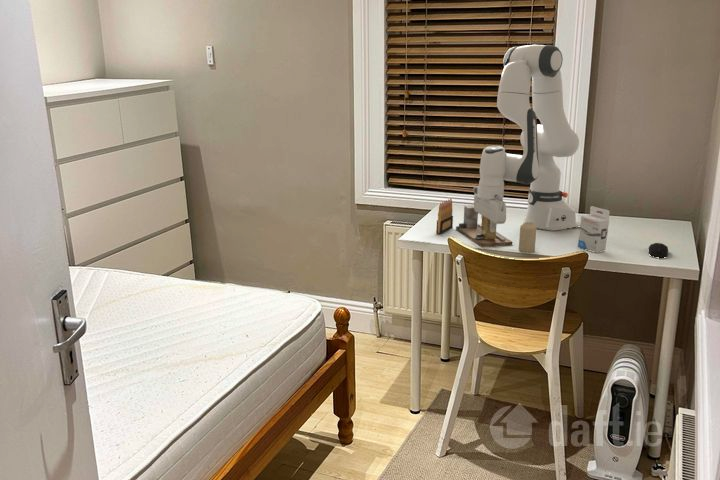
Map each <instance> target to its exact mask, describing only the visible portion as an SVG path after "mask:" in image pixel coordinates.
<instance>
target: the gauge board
mask: <svg viewBox="0 0 720 480" xmlns="http://www.w3.org/2000/svg"><path fill="white" fill-rule="evenodd" d="M463 209H464V210H463V223H461V222H459V223H458V225H455V230H456V231H458V232H459V233H460V234H462V235H463V236H465V237H466V238H467V239H469V240H471V241H472V242H473V243H474V244H476V245H478V246H479V247H480V248H486V247H489V248H490V247H500V246H501V247H502V246H503V247H504V246H512V245H513V241H512V240H510V239H509V238H507V237H506V236H504V235H502V234H501V233H499V232H498V231H496V239H490V240H485V239H483V238H482V237H481V238H477V237H476V234H481V225H482V223H478V222H479V221H478V219H479V218H478V216H479V213H477V212H476V211H475V210H474V204H473V205H464V207H463Z"/></svg>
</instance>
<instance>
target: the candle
mask: <svg viewBox="0 0 720 480" xmlns="http://www.w3.org/2000/svg"><path fill="white" fill-rule="evenodd" d="M537 230H538V228H537V227H536V226H535V225H534V223H531V222H529V223H528V222H525V223H524V224H523V223H522V224H521V225H520V227H519V239H518V251H519V252H521V253H527V252H528V253H534V252H535V251H536V250H535V249H536V239H537V238H536V237H537Z"/></svg>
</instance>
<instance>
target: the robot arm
mask: <svg viewBox="0 0 720 480" xmlns="http://www.w3.org/2000/svg"><path fill="white" fill-rule="evenodd" d="M563 59H564V58H563V53H562V52H561V50H560V49H559V47H558V46H556V45H552V44H546V45H544V44H531V45H521V46H520V45H518V46H512V47H510V48H508V50H507V51H506V53H505V54H504V57H503V60H502V61H503V70H502V73H501V77H500V81H499V85H498V92H497V99H496V106H497V109H498V111H499V112H500V114H501V115H502V116H503V117H504V118H505V119H508V120H509V121H511V122H513V123H515V124H517V125H518V126H519V127H520V129H521V130H522V132H521V134H520V138H519V139H520V144H521V146H522V149H523V154H522V155H521V154H514V153H513V154H512V153H507V152H506V150H505V148H504V147H503V146H500V145H490V146H487V147H485V148H484V149H483V150H482V153H481V157H480V163H479V175H480V179H479V182H478V185H477V186H474V187H473V188H472V189H473V193H474V195H473V205H474V210H475V211H476V212H477V213H478V215H481V216H480V218H481V219H482V216H484V217H486V218H487V219H489V220H490V223H491V224H490V226H489V231H490V232H495V227H496V228H497V225H503V224H505V223H506V221H507V205H506V202H505V201H504V199H503V198H504V191H505V190H504V189H505V181H507V182H513V183H514V182H515V183H519V184H521V185H530V187H529V189H528V196H527V198H528V199H527V203H528V205H527V208H526V214H525V216H524V220H523V223H522V224H524V223H525V222H528V223H529V222H531V223H534V225H535V226H536V227H537V229H538V230H539V229H540V230H547V231H560V230H562V231H563V230H568V229H567V228H569V229H573V228H572V227H576V228H579V227H578V226H580V223H581V221H578V220H577V217H576V211H575V209H574V208H573V207H572V206H571V205H569V204H568V203H567V202H566V201H565V200H564V199H563V198H567V197H568V192H567V191H562V190H560V187H561V185H560V184H561V176H562V175H561V174H562V173H561V169H560V168H559V166H557V164H556V162H555V160H554V157H556V158H569V157H572V156H574V155H575V154H576V152H577V151H578V148H579V145H580V139H579V136H578V134H577V133H576V132H575V131H574V130H573V129H572V127H571V126H570V124H569V122H568V120H567V117H566V114H565V110H564V98H563V97H564V96H563V80H562V73H561V68H562V65H563ZM530 93H531V96H532V97H531V99H532V100H531V102H532V107H531V104H530ZM537 118H538V120H539V121H540V124H538V121H537Z"/></svg>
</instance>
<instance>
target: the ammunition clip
mask: <svg viewBox="0 0 720 480" xmlns="http://www.w3.org/2000/svg"><path fill="white" fill-rule="evenodd" d="M453 223H454V216H453V198H450V199H447V200H444V201H442V202H439V205H438V213H437V220H436V232H435V233H437V234H438V235H442V234H444V233H446V232H448V231H450V230H452V229H453V225H454V224H453Z"/></svg>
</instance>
